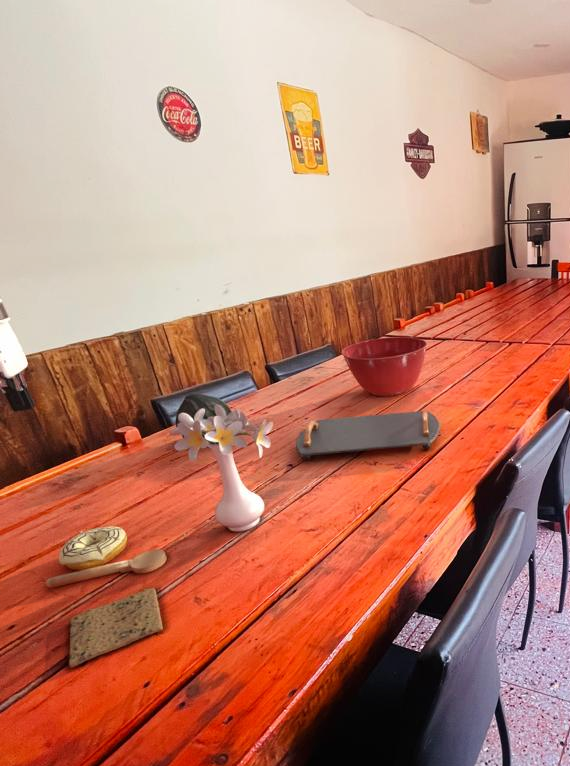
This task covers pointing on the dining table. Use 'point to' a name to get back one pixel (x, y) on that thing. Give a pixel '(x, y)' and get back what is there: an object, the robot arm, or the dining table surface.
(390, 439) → the serving tray
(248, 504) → the flower vase
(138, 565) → the spoon
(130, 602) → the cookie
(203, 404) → the squash
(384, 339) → the mixing bowl
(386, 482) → the dining table surface
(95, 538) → the decorated donut
